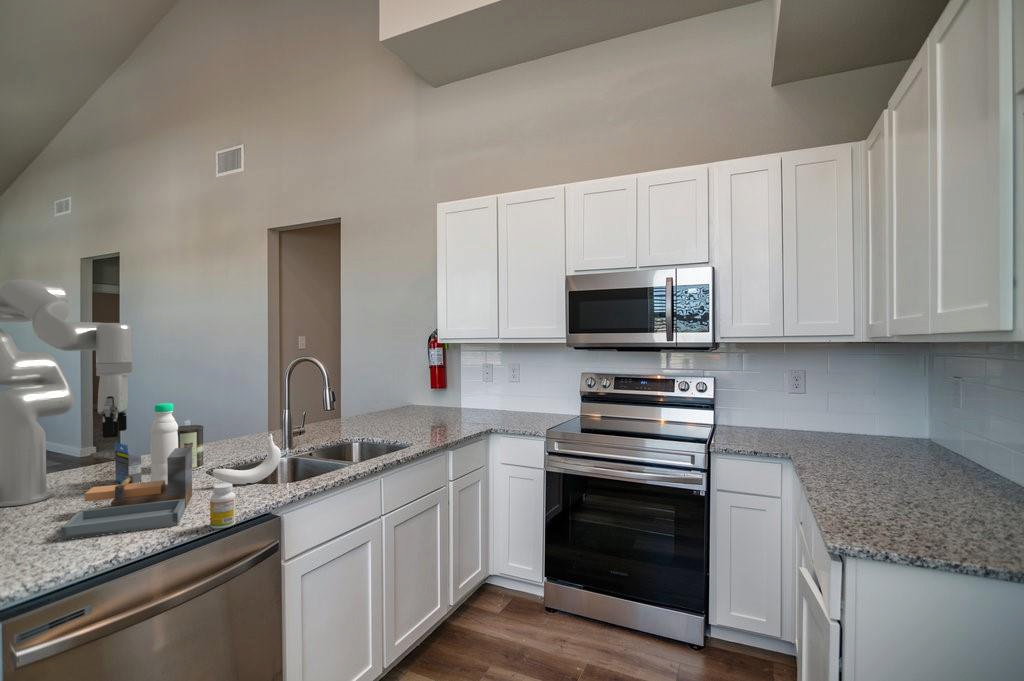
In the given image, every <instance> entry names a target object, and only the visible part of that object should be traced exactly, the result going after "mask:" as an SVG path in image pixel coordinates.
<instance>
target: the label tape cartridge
mask: <svg viewBox="0 0 1024 681" xmlns="http://www.w3.org/2000/svg"><path fill="white" fill-rule="evenodd" d="M120 448H123V449H120ZM114 451H115V452H114V453H115V455H114V456H115V460H114V461H115V462H114V463H115V468H114V469H115V482H117V481H118V483H120V482H121V483H122V482H123V481H124V480H125V477H126V476H133V483H139V482H142V456H141V455H138V454H135V453H131V452H129V447H128V445H127V444H124V443H119V442H117V441H116V442H114ZM121 483H120V484H121Z"/></svg>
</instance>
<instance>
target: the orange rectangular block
mask: <svg viewBox="0 0 1024 681" xmlns="http://www.w3.org/2000/svg"><path fill="white" fill-rule="evenodd" d="M117 485H118V484H111V485H102V486H92V487H91V488H90V489H89V490H87V491H86V492H85V493H84V502H92V501H93V502H94V501H95V502H96V501H103V500H113V499H114V498H115V487H116V486H117ZM164 488H165V480H160V481H151V480H150V481H143V482H142V481H141V482H140V483H130V484H127V485H126V486H125V487H124V496H125V497H133V496H142V495H151V494H160V493H162V491H163V490H164Z"/></svg>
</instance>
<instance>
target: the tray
mask: <svg viewBox="0 0 1024 681" xmlns="http://www.w3.org/2000/svg"><path fill="white" fill-rule="evenodd" d="M185 511H186V509H185V499H178V500H169V501H160V502H151V503H142V504H133V505H125V506H116V507H111V506H108V507H99V508H90V509H83V510H79V511H77V512H76V513H75V514H74V515H73V516H72V517H71V518H70V519H68V521H66V522H65V523H64V524H63V525H62V526H61V534H60V535H61V541H62V540H64V541H67V540H66V539H71V540H73V539H72V538H79V539H82V538H81V537H87V536H94V537H97V536H96V535H102V534H110V533H117V534H119V533H118V532H124V531H132V532H135V531H134V530H140V531H145V530H146V529H148V530H153V529H154V528H155V529H163V528H169V527H176V526H177V527H178V526H179V523H180V521H181V519H182V517H183V515H184V513H185ZM155 529H154V530H155ZM146 531H147V530H146ZM110 535H111V534H110ZM102 536H103V535H102ZM87 538H88V537H87Z"/></svg>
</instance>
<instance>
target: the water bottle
mask: <svg viewBox="0 0 1024 681" xmlns="http://www.w3.org/2000/svg"><path fill="white" fill-rule="evenodd" d="M154 412H155V415H156V416H155V418H154V419H153V422H152V424H151V426H150V428H149V430H150V434H151V435H150V450H149V451H150V462H151V463H150V481H160V480H165V484H168V466H167V458H168V456H169V455H170V454H171V453H172V452H173V450H174V449H175V448H178V433H177V430H178V426H179V425H178V423H177V421H176V419H175V417H174V416H173V412H174V404H173V403H171V402H163V403H156V404H155V406H154Z"/></svg>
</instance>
